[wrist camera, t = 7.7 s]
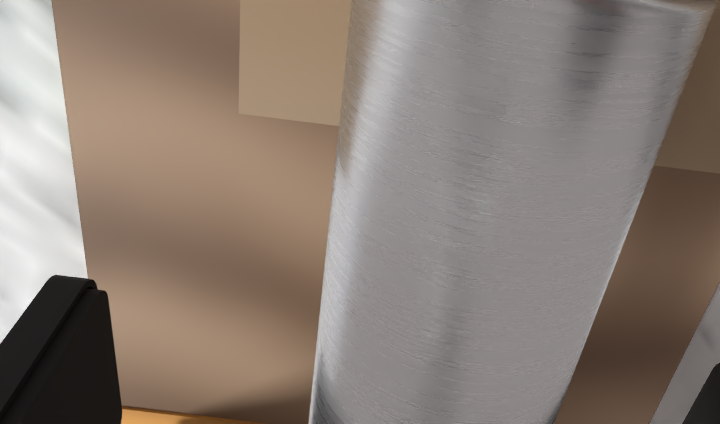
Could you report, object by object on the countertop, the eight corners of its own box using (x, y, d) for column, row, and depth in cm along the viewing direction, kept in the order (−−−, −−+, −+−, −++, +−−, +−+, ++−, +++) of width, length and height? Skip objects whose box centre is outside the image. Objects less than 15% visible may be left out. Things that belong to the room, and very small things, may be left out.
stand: (47, -228, 12) (-468, -303, 5) (881, -120, 12) (1559, -39, 5) (130, 498, 24) (9, 799, 16) (566, 550, 24) (639, 871, 16)
